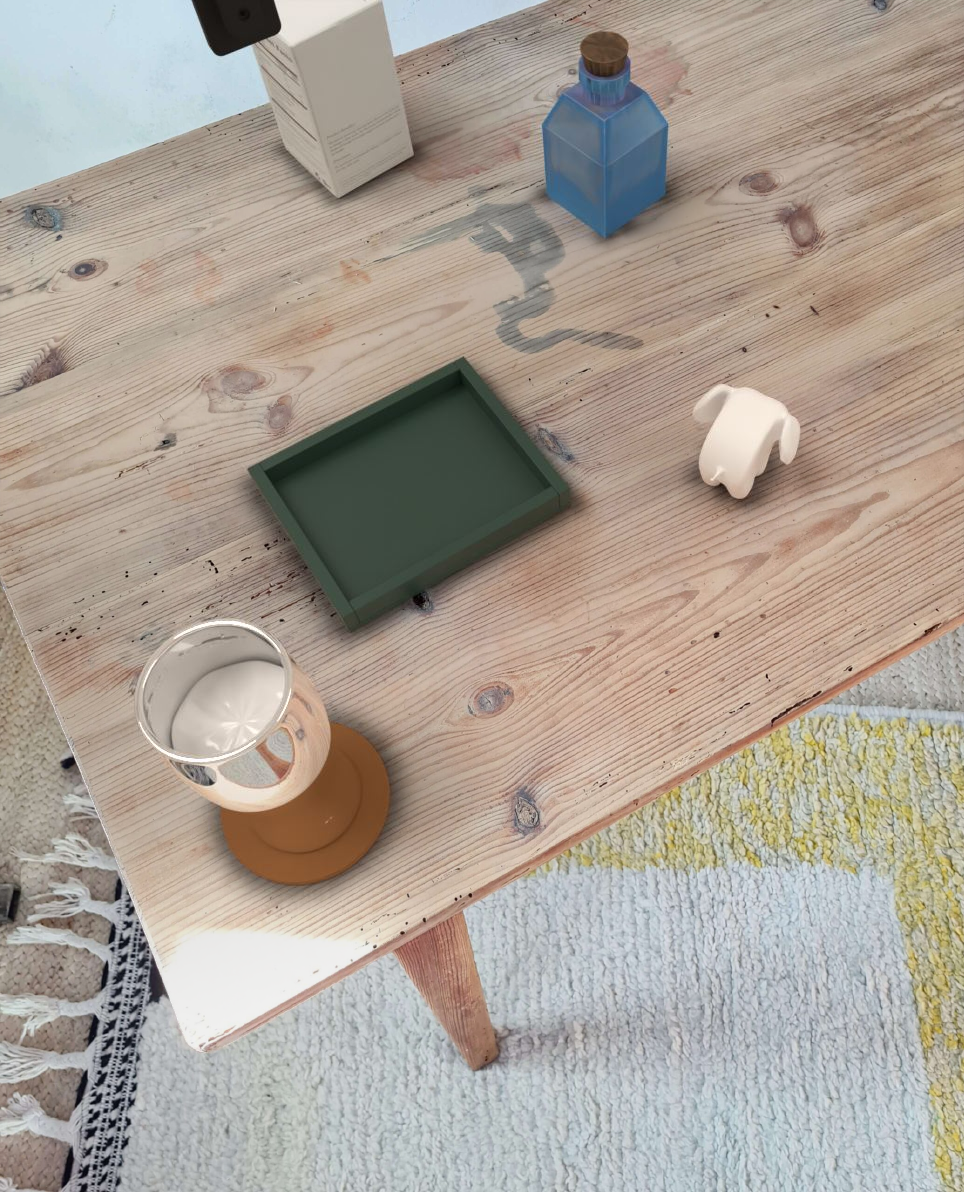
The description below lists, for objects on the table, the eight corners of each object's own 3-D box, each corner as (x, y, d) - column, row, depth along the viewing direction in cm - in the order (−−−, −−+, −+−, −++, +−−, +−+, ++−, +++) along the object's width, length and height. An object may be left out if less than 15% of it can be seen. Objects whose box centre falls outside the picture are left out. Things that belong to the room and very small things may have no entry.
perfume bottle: (664, 195, 80) (672, 46, 69) (605, 238, 78) (603, 91, 67) (606, 154, 82) (604, 4, 71) (546, 195, 80) (536, 47, 69)
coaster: (268, 919, 55) (265, 917, 55) (196, 781, 59) (192, 777, 58) (420, 823, 58) (418, 819, 57) (342, 695, 61) (339, 691, 61)
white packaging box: (362, 108, 85) (324, -53, 74) (416, 157, 82) (385, -2, 71) (282, 150, 83) (230, -9, 71) (335, 202, 80) (290, 45, 69)
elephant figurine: (814, 448, 69) (830, 388, 64) (754, 539, 66) (766, 484, 60) (721, 403, 71) (730, 342, 65) (659, 490, 67) (663, 433, 62)
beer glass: (294, 714, 60) (204, 586, 47) (395, 775, 58) (331, 660, 45) (212, 819, 57) (92, 715, 44) (316, 887, 56) (223, 799, 42)
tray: (349, 633, 63) (342, 618, 61) (256, 486, 68) (246, 468, 66) (571, 506, 67) (570, 488, 65) (467, 375, 72) (463, 355, 70)
